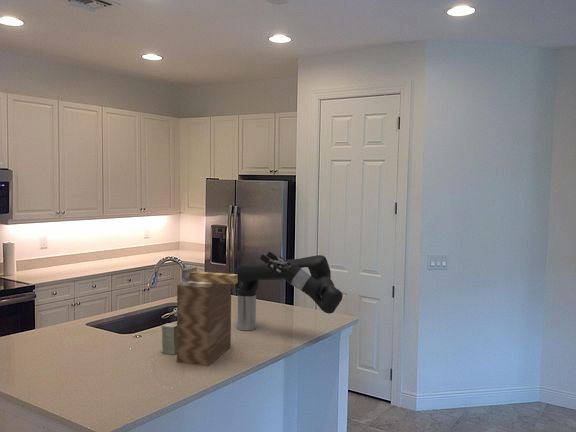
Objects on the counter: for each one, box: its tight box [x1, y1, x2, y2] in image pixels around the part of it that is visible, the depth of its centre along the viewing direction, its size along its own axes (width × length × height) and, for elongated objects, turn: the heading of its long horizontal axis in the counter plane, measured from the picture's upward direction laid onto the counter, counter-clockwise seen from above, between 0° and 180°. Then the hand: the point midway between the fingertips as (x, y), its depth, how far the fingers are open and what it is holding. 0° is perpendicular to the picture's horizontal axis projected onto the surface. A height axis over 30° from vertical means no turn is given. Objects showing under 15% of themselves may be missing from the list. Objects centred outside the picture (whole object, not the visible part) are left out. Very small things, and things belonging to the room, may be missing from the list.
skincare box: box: [161, 322, 177, 355], centre depth 222 cm, size 6×4×12 cm
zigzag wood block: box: [176, 280, 232, 367], centre depth 219 cm, size 14×24×33 cm, turn 165°
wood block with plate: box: [181, 265, 239, 285], centre depth 211 cm, size 22×9×5 cm, turn 75°
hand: (264, 254), depth 211 cm, fingers open, 8 cm apart
